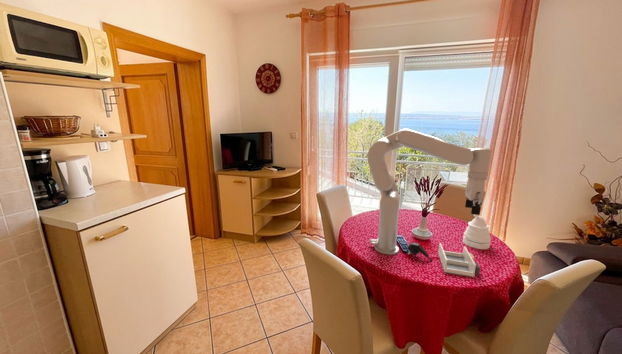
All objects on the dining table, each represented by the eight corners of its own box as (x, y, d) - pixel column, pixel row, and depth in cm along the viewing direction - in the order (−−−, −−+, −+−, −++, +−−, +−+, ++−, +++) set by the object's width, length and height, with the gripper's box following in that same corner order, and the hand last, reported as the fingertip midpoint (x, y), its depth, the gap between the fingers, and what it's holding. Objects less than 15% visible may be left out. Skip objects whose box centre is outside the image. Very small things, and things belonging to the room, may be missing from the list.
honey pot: (463, 246, 139) (467, 215, 135) (462, 237, 150) (465, 209, 146) (491, 251, 133) (496, 220, 129) (487, 241, 144) (492, 212, 140)
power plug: (431, 262, 120) (413, 242, 125) (420, 270, 125) (402, 250, 129) (434, 257, 125) (416, 238, 129) (423, 265, 129) (406, 246, 133)
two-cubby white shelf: (444, 272, 114) (446, 260, 113) (438, 253, 130) (439, 243, 129) (473, 277, 110) (475, 264, 109) (463, 257, 127) (465, 246, 125)
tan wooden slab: (470, 265, 120) (471, 257, 119) (467, 260, 124) (468, 252, 124) (473, 265, 119) (474, 258, 119) (470, 260, 124) (471, 253, 123)
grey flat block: (475, 275, 112) (477, 267, 111) (472, 269, 116) (473, 261, 116) (478, 275, 111) (480, 267, 111) (475, 269, 116) (476, 262, 115)
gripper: (463, 171, 122) (458, 204, 126) (473, 178, 106) (468, 216, 109) (480, 172, 120) (475, 206, 123) (494, 179, 104) (487, 218, 107)
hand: (471, 210), depth 116 cm, fingers open, 9 cm apart
